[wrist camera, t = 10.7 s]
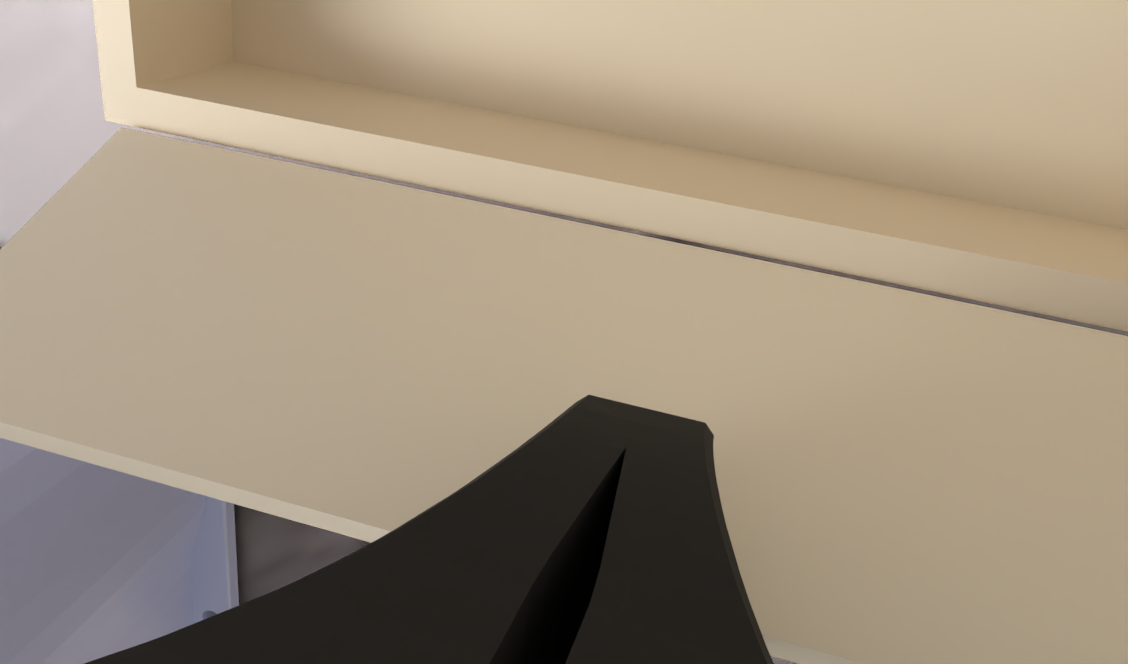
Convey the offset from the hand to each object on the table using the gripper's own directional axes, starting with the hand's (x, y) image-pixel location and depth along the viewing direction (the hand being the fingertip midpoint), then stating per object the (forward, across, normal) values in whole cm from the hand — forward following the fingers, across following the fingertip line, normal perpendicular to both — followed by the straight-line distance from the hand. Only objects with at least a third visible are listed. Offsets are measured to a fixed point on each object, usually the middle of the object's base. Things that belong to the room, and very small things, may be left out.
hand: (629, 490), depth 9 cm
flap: (+1, 0, 0) cm, 2 cm away
